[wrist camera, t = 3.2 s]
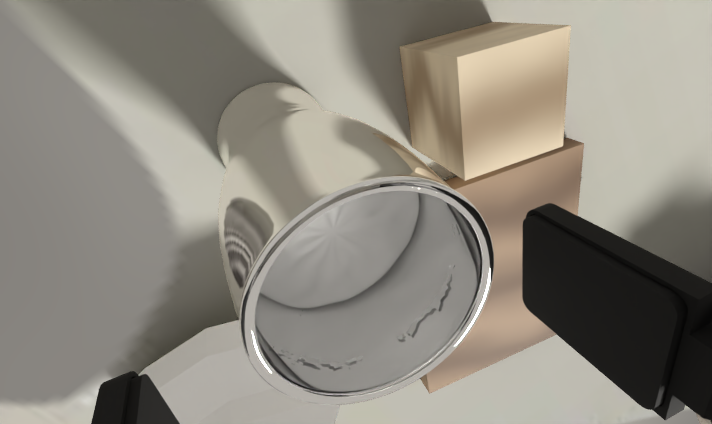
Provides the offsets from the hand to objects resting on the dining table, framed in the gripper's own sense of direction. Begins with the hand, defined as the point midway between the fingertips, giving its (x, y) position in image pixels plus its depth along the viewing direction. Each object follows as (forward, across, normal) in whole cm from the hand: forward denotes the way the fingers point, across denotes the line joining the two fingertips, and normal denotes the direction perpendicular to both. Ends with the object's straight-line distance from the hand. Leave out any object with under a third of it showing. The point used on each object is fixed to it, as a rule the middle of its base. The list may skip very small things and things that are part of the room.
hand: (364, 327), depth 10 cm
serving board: (+15, -14, +15) cm, 25 cm away
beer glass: (+15, -1, 0) cm, 15 cm away
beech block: (+15, -12, 0) cm, 19 cm away
